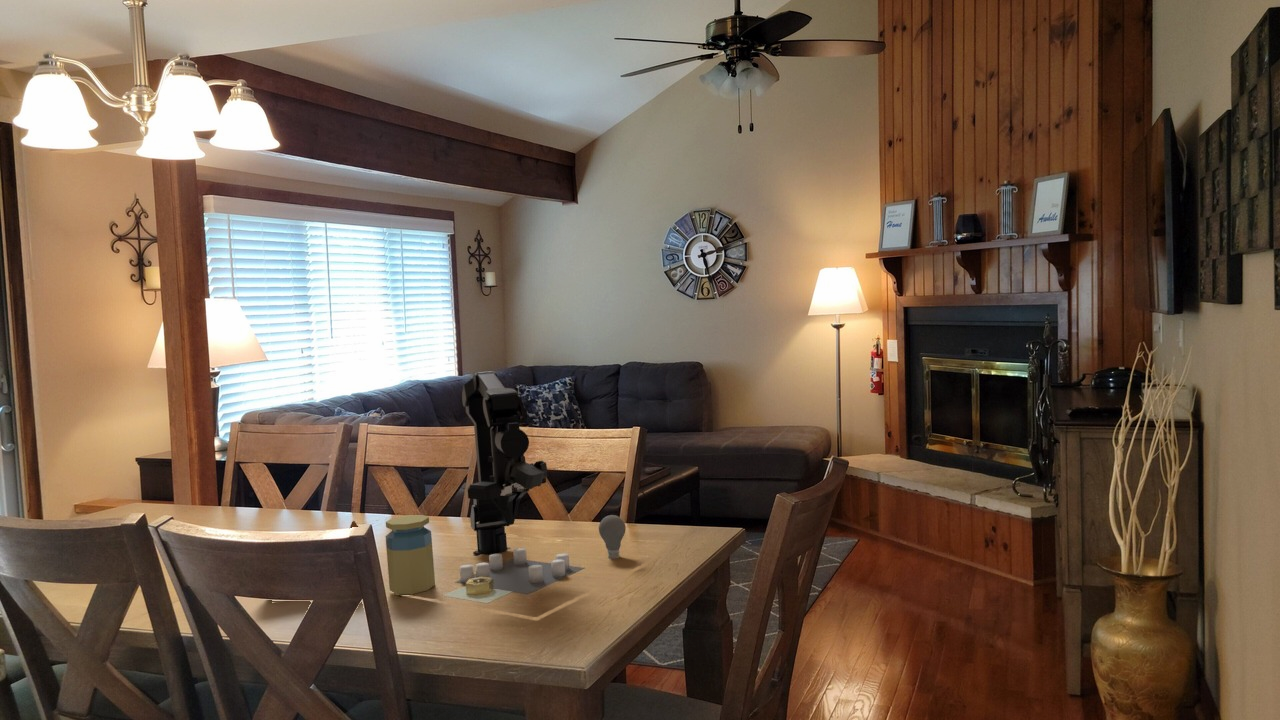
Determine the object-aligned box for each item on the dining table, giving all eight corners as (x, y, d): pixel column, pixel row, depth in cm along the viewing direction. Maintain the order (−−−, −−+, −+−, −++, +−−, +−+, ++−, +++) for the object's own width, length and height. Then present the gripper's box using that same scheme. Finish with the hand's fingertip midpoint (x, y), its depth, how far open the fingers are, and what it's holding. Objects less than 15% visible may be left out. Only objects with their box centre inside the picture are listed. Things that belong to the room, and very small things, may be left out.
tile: (442, 598, 183) (442, 595, 183) (468, 587, 189) (468, 584, 189) (486, 606, 176) (486, 603, 176) (512, 594, 182) (512, 591, 182)
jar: (444, 586, 190) (439, 516, 190) (412, 600, 183) (406, 526, 182) (413, 581, 195) (408, 513, 194) (380, 594, 188) (374, 523, 187)
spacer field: (454, 585, 191) (453, 568, 191) (514, 560, 207) (513, 545, 207) (527, 597, 180) (526, 579, 180) (585, 570, 196) (584, 554, 196)
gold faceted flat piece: (461, 592, 184) (460, 581, 183) (479, 586, 187) (478, 575, 187) (480, 596, 180) (480, 585, 180) (498, 589, 184) (497, 578, 184)
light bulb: (624, 563, 200) (621, 518, 199) (597, 563, 201) (595, 518, 200) (629, 555, 206) (627, 512, 205) (604, 555, 207) (601, 512, 206)
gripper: (504, 460, 178) (510, 538, 179) (563, 445, 194) (568, 517, 195) (463, 457, 184) (468, 533, 185) (523, 443, 200) (528, 513, 201)
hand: (510, 524), depth 191 cm, fingers closed
